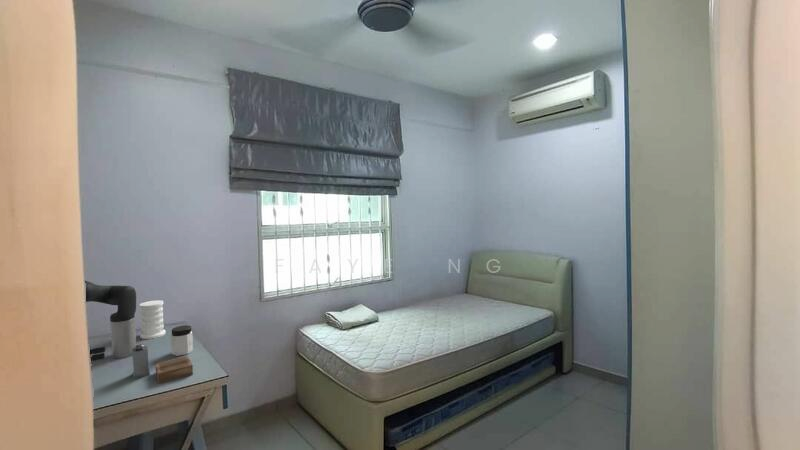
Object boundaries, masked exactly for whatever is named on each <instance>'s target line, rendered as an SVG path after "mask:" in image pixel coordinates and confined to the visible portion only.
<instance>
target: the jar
mask: <svg viewBox="0 0 800 450" xmlns="http://www.w3.org/2000/svg"><path fill="white" fill-rule="evenodd" d="M193 336H194V335H193V331H192V326H190V325H187V324H185V325H179V326H176V327H173V328H171V334H170V351H171V355H172V356H176V357H179V356H187V355H189V354H190V353H191V352H193V351H194V342H193V341H194V340H193Z"/></svg>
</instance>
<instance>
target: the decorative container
mask: <svg viewBox="0 0 800 450" xmlns="http://www.w3.org/2000/svg"><path fill="white" fill-rule="evenodd" d="M163 305H164V300H161V299H160V300H157V299H156V300H149V301H145V302H141V303H140V304H139V308H140V314H141V317H140V320H141V323H140V324H141V329H140V330H141V332H142V333H141V334H139V337H140V339H141V338H142V339H141V340H152V338H153V339H157V338H160V337H164V336H165V335H166V330H165V329H164V327H165V325H164V312H163V311H164V307H163Z"/></svg>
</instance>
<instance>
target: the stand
mask: <svg viewBox="0 0 800 450" xmlns="http://www.w3.org/2000/svg"><path fill="white" fill-rule="evenodd" d="M193 367H194V365H193V363H192V362H191V359H190V357H189V356H188V355H184V356H181V357H177V358H173V359H168V360H163V361H160V362H156V363H155V374H156V377H157V382H158V384H163V383H166V382H169V381H172V380H173V381H174V380H177V379H180V378H185V377H189V376H192V375H193V374H194V370H193Z"/></svg>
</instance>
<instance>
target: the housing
mask: <svg viewBox="0 0 800 450" xmlns="http://www.w3.org/2000/svg"><path fill="white" fill-rule="evenodd" d="M132 353H133V355H132V368H133V369H132V379H133V380H135V379H139V378H143V377H146V376H147V377H148V376H149V375H151V373H150V368H149V353H148V346H147V345H145V344H144V343H141V344H140V343H139V344H136V346H135V348H133V349H132Z"/></svg>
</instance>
